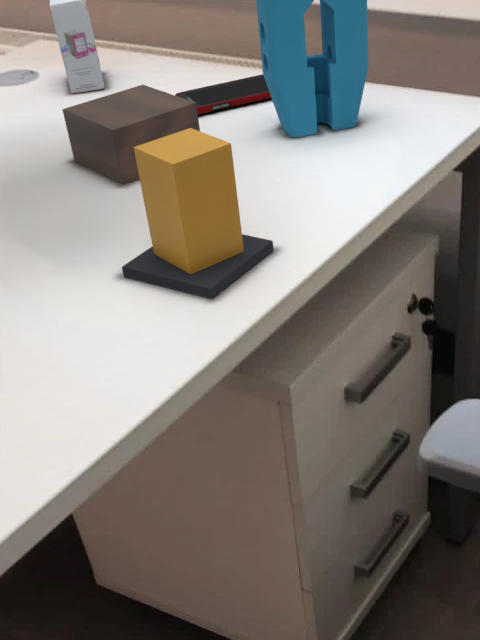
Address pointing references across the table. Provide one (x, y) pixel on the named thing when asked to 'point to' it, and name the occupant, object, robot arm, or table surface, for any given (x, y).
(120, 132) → the walnut block
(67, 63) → the ink box
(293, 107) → the blue slotted bracket
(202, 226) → the ochre block
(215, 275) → the grey mat
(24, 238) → the table surface
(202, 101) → the cell phone
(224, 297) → the table surface
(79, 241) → the table surface
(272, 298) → the table surface
